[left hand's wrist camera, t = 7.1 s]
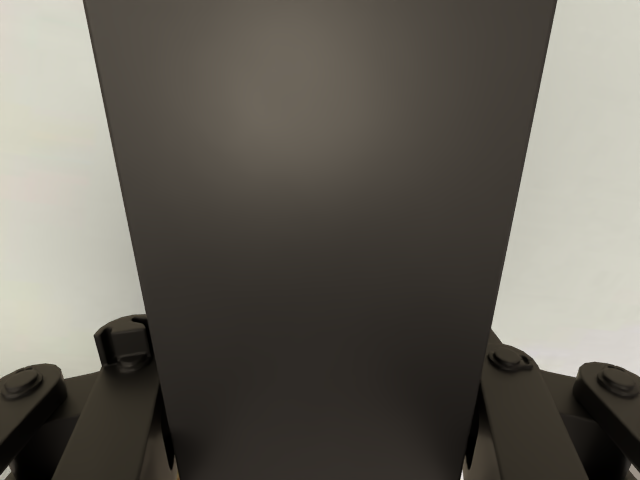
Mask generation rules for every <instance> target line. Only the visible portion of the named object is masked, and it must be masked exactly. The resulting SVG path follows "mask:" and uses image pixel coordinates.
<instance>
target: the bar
mask: <svg viewBox="0 0 640 480" xmlns="http://www.w3.org/2000/svg"><path fill="white" fill-rule="evenodd" d="M83 4H84V9H85V14H86V19H87V24H88V28H89V33H90V38H91V43H92V48H93V53H94V58H95V63H96V68H97V73H98V78H99V83H100V88H101V93H102V98H103V103H104V108H105V113H106V118H107V122H108V127H109V132H110V137H111V142H112V147H113V152H114V157H115V162H116V167H117V172H118V177H119V182H120V187H121V192H122V197H123V202H124V207H125V212H126V216H127V221H128V226H129V231H130V236H131V241H132V246H133V251H134V256H135V261H136V266H137V271H138V276H139V281H140V286H141V291H142V296H143V301H144V306H145V310H146V315H147V320H148V325H149V330H150V335H151V340H152V345H153V350H154V355H155V360H156V365H157V370H158V375H159V380H160V385H161V390H162V395H163V399H164V404H165V409H166V414H167V419H168V424H169V429H170V434H171V439H172V444H173V449H174V454H175V459H176V464H177V469H178V474H179V479H180V480H460V478H461V473H462V468H463V463H464V458H465V453H466V449H467V444H468V439H469V434H470V429H471V424H472V419H473V414H474V409H475V404H476V399H477V394H478V389H479V384H480V379H481V374H482V369H483V365H484V360H485V355H486V350H487V345H488V340H489V335H490V330H491V325H492V320H493V315H494V310H495V305H496V300H497V295H498V290H499V285H500V281H501V276H502V271H503V266H504V261H505V256H506V251H507V246H508V241H509V236H510V231H511V226H512V221H513V216H514V211H515V206H516V201H517V197H518V192H519V187H520V182H521V177H522V172H523V167H524V162H525V157H526V152H527V147H528V142H529V137H530V132H531V127H532V122H533V117H534V113H535V108H536V103H537V98H538V93H539V88H540V83H541V78H542V73H543V68H544V63H545V58H546V53H547V48H548V43H549V38H550V33H551V29H552V24H553V19H554V14H555V9H556V4H557V0H83Z"/></svg>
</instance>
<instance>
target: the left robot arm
mask: <svg viewBox="0 0 640 480" xmlns="http://www.w3.org/2000/svg"><path fill="white" fill-rule="evenodd" d="M94 338H95V342H96V346H97V350H98V353H99V357H100V361H101V364H102V367H101V370H100V371H98V372H95V373H91V374H86V375H81V376H77V377H72V378H67V379H64V378H63V375H62V372H61V369H60V368H59V367H57V366H56V365H53V364H46V363H45V364H38V365H31V366H27V367H25V368H21V369H18V370H16V371H14V372H12V373H10V374H8V375H6V376H4V377H3V378H1V379H0V475H1V474H2V473H3V471H4V470H5V469H6V468H7V467H8V465H9V466H10V469H11V473H10V474H9V475H8V476H7V478H6V479H5V480H176V479H177V470H178V469H177V464H176V459H175V454H174V449H173V444H172V439H171V434H170V429H169V424H168V419H167V414H166V409H165V404H164V399H163V395H162V390H161V385H160V380H159V375H158V370H157V365H156V360H155V355H154V350H153V345H152V340H151V335H150V330H149V325H148V320H147V315H146V314H140V315H130V316H126V317H121V318H119V319H116V320H114V321H111V322H109V323H107V324H106V325H104V326H103V327H101V328H100V329H99V330H98V331H97V332H96V333H95V334H94ZM631 463H632V464H633V465H634V467H635V468H636V469H637V470H638V471H639V472H640V377H639V376H637V375H636V374H634V373H631V372H629V371H627V370H625V369H624V368H621V367H618V366H614V365H612V364H607V363H600V362H590V363H585V364H583V365H582V366H581V367H579V370H578V374H577V377H576V378H575V377H571V376H566V375H561V374H556V373H552V372H547V371H544V370H540V369H539V367H538V365H537V364H536V362H535V361H534V360H533V358H531V357H530V356H529V355H527V354H526V353H525V352H523V351H521V350H519V349H517V348H515V347H513V346H509V345H505V344H502V342H501V341H500V340H499V338H498V337H497V336H496V334H495V333H494V332H493V331H492V329H491V330H490V335H489V340H488V345H487V350H486V355H485V360H484V365H483V369H482V374H481V379H480V384H479V389H478V394H477V399H476V404H475V409H474V414H473V419H472V424H471V429H470V434H469V439H468V444H467V449H466V453H465V458H464V463H463V468H462V469H463V478H464V480H637V479H636V478H635V477H634V476H633V474H632V473H631V472H630V471H629V468H630V466H631Z"/></svg>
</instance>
